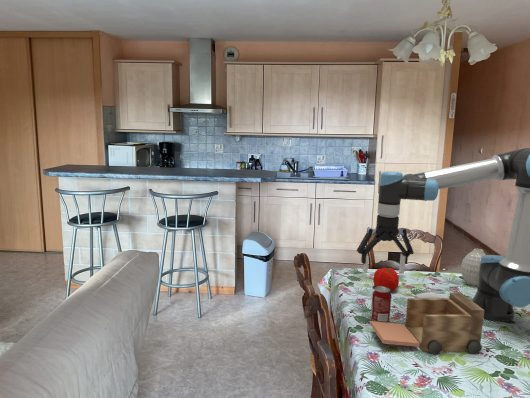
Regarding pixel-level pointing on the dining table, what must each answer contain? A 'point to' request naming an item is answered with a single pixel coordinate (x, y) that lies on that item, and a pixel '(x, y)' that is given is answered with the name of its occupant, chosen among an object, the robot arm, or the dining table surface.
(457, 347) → the truck
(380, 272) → the tomato
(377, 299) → the soda can
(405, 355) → the dining table surface
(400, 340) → the cabinet door
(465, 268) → the vase
